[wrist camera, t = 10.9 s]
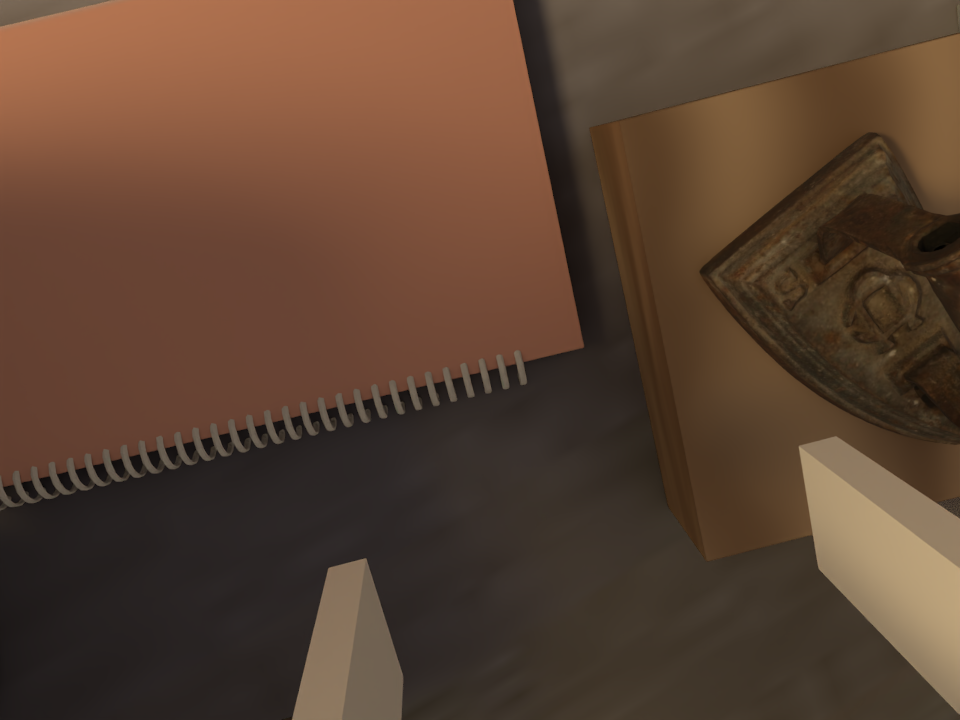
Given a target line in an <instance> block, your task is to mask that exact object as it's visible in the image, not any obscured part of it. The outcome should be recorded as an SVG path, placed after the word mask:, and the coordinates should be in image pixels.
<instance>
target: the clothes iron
mask: <svg viewBox="0 0 960 720" xmlns="http://www.w3.org/2000/svg"><path fill="white" fill-rule="evenodd" d="M699 273H700V275H701V276H702V278H703V280H704V281H705V283H706V284H707V285H708V287H709V288H710V290H711V291H712V292H713V294H714V295H715V296H716V297H717V299H718V300H719V301H720V302H721V303H722V305H723V306H724V307H725V309H726V310H727V311H728V312H729V313H730V314H731V316H732V317H733V318H734V319H735V320H736V321H737V322H738V323H739V325H740V326H741V327H742V328H743V329H744V330H745V331H746V332H747V333H748V334H749V335H750V336H751V337H752V338H753V339H754V340H755V342H756V343H757V344H758V345H759V346H760V347H761V348H762V349H763V350H764V351H765V352H766V353H767V354H768V355H770V356H771V357H772V358H773V359H774V360H775V361H776V362H777V363H778V364H779V365H780V366H781V367H782V368H783V369H785V370H786V371H787V372H788V373H789V374H790V375H792V376H793V377H794V378H795V379H797V380H798V381H799V382H801V383H802V384H803V385H805V386H806V387H807V388H809V389H810V390H811V391H813V392H814V393H816V394H817V395H818V396H820V397H822V398H823V399H825V400H826V401H828V402H829V403H831V404H833V405H835V406H836V407H838V408H840V409H841V410H843V411H845V412H847V413H849V414H851V415H853V416H855V417H857V418H860V419H862V420H863V421H865V422H868V423H870V424H872V425H875V426H877V427H880V428H883V429H885V430H888V431H891V432H894V433H896V434H899V435H903V436H906V437H910V438H914V439H918V440H923V441H929V442H935V443H943V444H953V445H958V444H960V213H958V214H953V215H941V214H936V213H931V212H928V211H926V210H924V209H923V207H922V205H921V203H920V201H919V199H918V197H917V196H916V194H915V192H914V190H913V188H912V186H911V184H910V182H909V181H908V179H907V177H906V175H905V173H904V171H903V170H902V168H901V166H900V164H899V163H898V161H897V159H896V157H895V156H894V154H893V152H892V151H891V150H890V148H889V147H888V145H887V144H886V142H885V141H884V139H883V138H882V137H881V136H880V135H878V134H877V133H873V132H868V133H867V134H865V135H863V136H861V137H860V138H859V139H857V140H856V141H855V142H853V143H852V144H851V145H850V146H848V147H847V148H846V149H844V150H843V151H842V152H841V153H839V154H838V155H837V156H836V157H834V158H833V159H832V160H831V161H829V162H828V163H827V164H826V165H825V166H823V167H822V168H821V169H820V170H818V171H817V172H816V173H815V174H813V175H812V176H811V177H810V178H809V179H807V180H806V181H805V182H804V183H802V184H801V185H800V186H799V187H797V188H796V189H795V190H794V191H793V192H791V193H790V194H789V195H788V196H786V197H785V198H784V199H783V200H781V201H780V202H779V203H778V204H776V205H775V206H774V207H773V208H772V209H770V210H769V211H768V212H767V213H766V214H764V215H763V216H762V217H761V218H759V219H758V220H757V221H756V222H755V223H753V224H752V225H751V226H750V227H749V228H747V229H746V230H745V231H744V232H743V233H741V234H740V235H739V236H738V237H737V238H735V239H734V240H733V241H732V242H731V243H729V244H728V245H727V246H726V247H725V248H723V249H722V250H721V251H720V252H719V253H718V254H716V255H715V256H714V257H713V258H712V259H711V260H710V261H709V262H708V263H706V264H705V265H704V266H703V267H702V268H701V270H700V271H699Z"/></svg>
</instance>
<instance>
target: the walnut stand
mask: <svg viewBox="0 0 960 720" xmlns="http://www.w3.org/2000/svg"><path fill="white" fill-rule="evenodd" d="M868 132H873V133H877V134H878V135H880V136H881V137H882V138H883V139H884V141H885V142H886V144H887V145H888V147H889V148H890V150H891V151H892V152H893V154H894V156H895V157H896V159H897V161H898V163H899V164H900V166H901V168H902V170H903V171H904V173H905V175H906V177H907V179H908V181H909V182H910V184H911V186H912V188H913V190H914V192H915V194H916V196H917V197H918V199H919V201H920V203H921V205H922V207H923V209H924V210H926V211H928V212H931V213H936V214H941V215H953V214H958V213H960V33H956V34H952V35H948V36H944V37H940V38H937V39H933V40H929V41H925V42H921V43H917V44H913V45H909V46H905V47H902V48H898V49H894V50H890V51H886V52H882V53H878V54H874V55H870V56H867V57H863V58H859V59H855V60H851V61H847V62H843V63H839V64H835V65H832V66H828V67H824V68H820V69H816V70H812V71H808V72H804V73H800V74H796V75H793V76H789V77H785V78H781V79H777V80H773V81H769V82H765V83H761V84H758V85H754V86H750V87H746V88H742V89H738V90H734V91H730V92H726V93H723V94H719V95H715V96H711V97H707V98H703V99H699V100H695V101H691V102H688V103H684V104H680V105H676V106H672V107H668V108H664V109H660V110H656V111H653V112H649V113H645V114H641V115H637V116H633V117H629V118H625V119H621V120H618V121H614V122H610V123H606V124H602V125H598V126H594V127H590V133H591V138H592V143H593V147H594V152H595V157H596V162H597V167H598V171H599V176H600V181H601V186H602V191H603V196H604V200H605V205H606V210H607V215H608V220H609V224H610V229H611V234H612V239H613V244H614V249H615V253H616V258H617V263H618V268H619V273H620V278H621V282H622V287H623V292H624V297H625V302H626V306H627V311H628V316H629V321H630V326H631V331H632V335H633V340H634V345H635V350H636V355H637V360H638V364H639V369H640V374H641V379H642V384H643V388H644V393H645V398H646V403H647V408H648V413H649V417H650V422H651V427H652V432H653V437H654V441H655V446H656V451H657V456H658V461H659V466H660V470H661V475H662V480H663V485H664V490H665V495H666V499H667V504H668V507H669V509H670V510H671V511H672V513H673V514H674V516H675V517H676V519H677V520H678V521H679V523H680V524H681V526H682V527H683V529H684V530H685V531H686V533H687V534H688V536H689V537H690V539H691V540H692V541H693V543H694V544H695V546H696V547H697V549H698V550H699V551H700V553H701V554H702V556H703V557H704V559H705V560H706V561H707V562H708V561H712V560H716V559H720V558H724V557H728V556H732V555H735V554H739V553H743V552H747V551H751V550H755V549H759V548H763V547H766V546H770V545H774V544H778V543H782V542H786V541H790V540H794V539H797V538H801V537H805V536H809V535H813V532H812V526H811V520H810V513H809V507H808V501H807V495H806V489H805V483H804V476H803V470H802V464H801V458H800V452H799V446H800V445H804V444H808V443H812V442H816V441H820V440H823V439H827V438H831V437H835V436H837V437H838V438H840V439H841V440H843V441H844V442H846V443H847V444H849V445H850V446H852V447H853V448H855V449H856V450H858V451H859V452H861V453H862V454H864V455H865V456H867V457H868V458H870V459H871V460H873V461H874V462H876V463H877V464H879V465H880V466H882V467H883V468H885V469H886V470H888V471H889V472H891V473H892V474H894V475H895V476H897V477H898V478H900V479H901V480H903V481H904V482H906V483H907V484H909V485H910V486H912V487H913V488H915V489H916V490H917V491H919V492H920V493H922V494H923V495H925V496H926V497H928V498H929V499H931V500H932V501H934V502H935V503H937V502H941V501H945V500H948V499H952V498H956V497H960V444H958V445H953V444H943V443H935V442H929V441H923V440H918V439H914V438H910V437H906V436H903V435H899V434H896V433H894V432H891V431H888V430H885V429H883V428H880V427H877V426H875V425H872V424H870V423H868V422H865V421H863V420H862V419H860V418H857V417H855V416H853V415H851V414H849V413H847V412H845V411H843V410H841V409H840V408H838V407H836V406H835V405H833V404H831V403H829V402H828V401H826V400H825V399H823V398H822V397H820V396H818V395H817V394H816V393H814V392H813V391H811V390H810V389H809V388H807V387H806V386H805V385H803V384H802V383H801V382H799V381H798V380H797V379H795V378H794V377H793V376H792V375H790V374H789V373H788V372H787V371H786V370H785V369H783V368H782V367H781V366H780V365H779V364H778V363H777V362H776V361H775V360H774V359H773V358H772V357H771V356H770V355H768V354H767V353H766V352H765V351H764V350H763V349H762V348H761V347H760V346H759V345H758V344H757V343H756V342H755V340H754V339H753V338H752V337H751V336H750V335H749V334H748V333H747V332H746V331H745V330H744V329H743V328H742V327H741V326H740V325H739V323H738V322H737V321H736V320H735V319H734V318H733V317H732V316H731V314H730V313H729V312H728V311H727V310H726V309H725V307H724V306H723V305H722V303H721V302H720V301H719V300H718V299H717V297H716V296H715V295H714V294H713V292H712V291H711V290H710V288H709V287H708V285H707V284H706V283H705V281H704V280H703V278H702V276H701V275H700V273H699V271H700V270H701V268H702V267H703V266H704V265H705V264H706V263H708V262H709V261H710V260H711V259H712V258H713V257H714V256H715V255H716V254H718V253H719V252H720V251H721V250H722V249H723V248H725V247H726V246H727V245H728V244H729V243H731V242H732V241H733V240H734V239H735V238H737V237H738V236H739V235H740V234H741V233H743V232H744V231H745V230H746V229H747V228H749V227H750V226H751V225H752V224H753V223H755V222H756V221H757V220H758V219H759V218H761V217H762V216H763V215H764V214H766V213H767V212H768V211H769V210H770V209H772V208H773V207H774V206H775V205H776V204H778V203H779V202H780V201H781V200H783V199H784V198H785V197H786V196H788V195H789V194H790V193H791V192H793V191H794V190H795V189H796V188H797V187H799V186H800V185H801V184H802V183H804V182H805V181H806V180H807V179H809V178H810V177H811V176H812V175H813V174H815V173H816V172H817V171H818V170H820V169H821V168H822V167H823V166H825V165H826V164H827V163H828V162H829V161H831V160H832V159H833V158H834V157H836V156H837V155H838V154H839V153H841V152H842V151H843V150H844V149H846V148H847V147H848V146H850V145H851V144H852V143H853V142H855V141H856V140H857V139H859V138H860V137H861V136H863V135H865V134H867V133H868Z"/></svg>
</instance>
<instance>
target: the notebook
mask: <svg viewBox="0 0 960 720" xmlns="http://www.w3.org/2000/svg"><path fill="white" fill-rule="evenodd" d="M580 348H584V343H583V339H582V334H581V329H580V324H579V319H578V314H577V309H576V305H575V300H574V295H573V290H572V285H571V280H570V275H569V271H568V266H567V261H566V256H565V251H564V246H563V241H562V236H561V232H560V227H559V222H558V217H557V212H556V207H555V202H554V198H553V193H552V188H551V183H550V178H549V173H548V168H547V163H546V159H545V154H544V149H543V144H542V139H541V134H540V129H539V125H538V120H537V115H536V110H535V105H534V100H533V95H532V91H531V86H530V81H529V76H528V71H527V66H526V61H525V56H524V52H523V47H522V42H521V37H520V32H519V27H518V22H517V18H516V13H515V8H514V3H513V0H112V1H108V2H103V3H99V4H95V5H91V6H86V7H82V8H78V9H74V10H70V11H65V12H61V13H57V14H53V15H49V16H44V17H40V18H36V19H32V20H28V21H23V22H19V23H15V24H11V25H6V26H2V27H0V499H1V500H2V501H3V504H2V505H1V506H0V511H1V510H3V509H5V508H6V507H7V506H9V507H18V506H21V505H23V504H24V503H25V502H27V503H36V502H38V501H40V500H41V499H42V498H43V497H44V498H45V499H53V498H55V497H57V496H58V495H59V494H60V493H62V494H63V495H68V494H72V493H74V492H75V491H76V490H77V489H80V490H89V489H92V488H93V486H94V485H95V484H96V485H98V486H106V485H109V484H110V483H111V481H112V479H113V480H115V481H116V482H121V481H125V480H127V479H128V478H129V476H130V475H131V476H133V477H134V478H140V477H142V476H144V475H145V474H146V472H147V469H148V471H149V472H151V473H159V472H162V470H163V469H164V466H165V465H166V467H167V468H169V469H176V468H179V467H180V465H181V463H182V460H183V461H184V463H185V464H187V465H193V464H196V463H197V462H198V459H199V456H201V457H202V459H203V460H205V461H210V460H213V459H214V458H215V456H216V452H217V450H218V452H219V453H220V455H221V456H229V455H231V454H232V452H233V449H234V445H235V446H236V448H237V450H238V451H239V452H247V451H249V449H250V446H251V439H252V441H253V443H254V444H255V446H256V447H257V448H264V447H266V445H267V443H268V435H267V434H264V435H262V441H260V440H259V438H258V436H257V433H256V430H255V426H260V425H264V424H266V427H267V431H268V433H269V435H270V437H271V439H272V440H273V442H274V443H275V444H280V443H283V442H284V440H285V431H284V430H281V431H279V437H278V436H277V434H276V432H275V429H274V426H273V423H272V422H276V421H280V420H284V423H285V427H286V429H287V431H288V433H289V435H290V437H291V438H292V439H294V440H297V439H300V438H301V436H302V426H301V425H300V426H297V427H296V432H295V430H294V428H293V425H292V422H291V419H290V418H293V417H297V416H301V415H302V419H303V423H304V425H305V427H306V429H307V431H308V433H309V434H310V435H313V436H314V435H317V434H318V433H319V426H320V425H319V422H318V421H316V422H314V423H313V426H312V424H311V421H310V418H309V415H308V414H309V413H314V412H318V411H320V415H321V419H322V421H323V423H324V425H325V427H326V429H327V430H328V431H333V430H335V429H336V426H337V420H336V418H335V417H333V418H331V419H330V420H329V417H328V414H327V411H326V409H330V408H334V407H338V411H339V415H340V417H341V419H342V422H343V424H344V425H345V426H346V427H351V426H353V424H354V416H353V414H352V413H350V414H348V415H347V413H346V410H345V407H344V405H347V404H351V403H356V407H357V411H358V413H359V416H360V418H361V420H362V421H363V422H364V423H368V422H370V420H371V411H370V410H369V409H366V410H365V409H364V406H363V403H362V401H363V400H368V399H372V398H373V399H374V402H375V406H376V409H377V411H378V414H379V417H380V418H387V417H388V407H387V406H386V405H384V406H382V403H381V399H380V396H384V395H388V394H391V395H392V399H393V402H394V406H395V409H396V411H397V413H398V414H404V413H405V403H404V402H400V399H399V395H398V392H401V391H405V390H409V391H410V395H411V399H412V402H413V405H414V407H415V409H416V410H421V409H422V408H423V407H422V399H421V397H420V398H418V395H417V391H416V388H418V387H422V386H426V385H427V387H428V392H429V395H430V399H431V402H432V404H433V406H438V405H439V404H440V399H439V394H438V393H436V391H435V387H434V383H438V382H443V381H445V383H446V387H447V391H448V395H449V398H450V401H451V402H455V401H457V395H456V390H455V389H454V387H453V383H452V379H455V378H459V377H463V380H464V384H465V388H466V392H467V396H468V397H469V398H471V397H474V396H475V395H474V390H473V386H472V384H471V379H470V375H472V374H476V373H480V372H481V376H482V380H483V385H484V389H485V393H491V392H492V389H491V385H490V380H489V375H488V370H492V369H497V368H499V372H500V377H501V379H500V380H501V384H502V388H503V389H508V388H509V381H508V377H507V372H506V367H505V366H509V365H513V364H517V369H518V375H517V376H518V380H519V383H520V385H525V384H526V383H527V378H526V373H525V368H524V364H523V362H526V361H530V360H534V359H538V358H542V357H547V356H551V355H555V354H559V353H563V352H567V351H571V350H576V349H580ZM247 428H248V431H249V434H250V438H251V439H250V438H247V439H245V445H244V447H243V445H242V444H241V442H240V440H239V437H238V434H237V431H239V430H243V429H247ZM226 433H230V435H231V439H232V442H230V443H228V448H227V452H226V451H225V449H224V448H223V446H222V443H221V441H220V438H219V435H222V434H226ZM210 437H212V439H213V443H214V446H213V447H211V451H210V455H209V456H208V454H207V453H206V452H205V450H204V447H203V445H202V442H201V439H205V438H210ZM193 441H194V443H195V447H196V451H195V452H194V454H193V458H192V460H190V458H189V457H188V456H187V454H186V452H185V449H184V447H183V444H185V443H189V442H193ZM172 446H176V447H177V451H178V454H179V455H178V456H177V457H176V462H175V464H172V462H171V461H170V460H169V458H168V456H167V453H166V451H165V448H168V447H172ZM156 450H158V452H159V455H160V458H161V460H159V465H158V468H157V469H155V467H154V466H153V465H152V464H151V462H150V460H149V457H148V455H147V452H151V451H156ZM139 454H140V456H141V459H142V462H143V464H142V469H141V471H140V473H137V472H136V471H135V469H134V468H133V466H132V464H131V461H130V459H129V457H131V456H135V455H139ZM118 459H122V460H123V463H124V466H125V473H124V476H123V477H122V478H120V477H119V476H118V475H117V474H116V472H115V470H114V468H113V466H112V464H111V461H114V460H118ZM101 463H104V464H105V467H106V471H107V472H108V476H107V479H106V481H105V482H103V481H101V480H100V479H99V478H98V476H97V474H96V472H95V470H94V468H93V465H97V464H101ZM85 467H86V468H87V472H88V475H89V477H90V478H91V480H90V482H89V484H88V486H85V485H83V484H82V483H81V482H80V480H79V478H78V476H77V474H76V472H75V470H77V469H81V468H85ZM64 472H68V473H69V476H70V479H71V481H72V482H73V486H72V488H71V489H70V490H66V489H65V488H64V487H63V484H62V483H61V482H60V480H59V478H58V476H57V474H60V473H64ZM47 476H50V477H51V480H52V483H53V485H54V486H55V488H56V489H55V492H54V493H53V494H48V493H47V492H46V489H45V487H43V486H42V484H41V482H40V480H39V478H43V477H47ZM31 480H32V481H33V484H34V487H35V489H36V491H37V492H38V495H37V497H36V498H34V499H32V498H30V497H29V493H28V492H25V491H24V489H23V487H22V485H21V483H22V482H27V481H31ZM10 485H15V488H16V492H17V494H18V495H19V496H20V497H21V500H20V501H19V502H18V503H14V502H12V501H11V497H10V496H7V495H6V493H5V491H4V489H3V487H6V486H10Z"/></svg>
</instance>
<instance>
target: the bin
mask: <svg viewBox="0 0 960 720" xmlns="http://www.w3.org/2000/svg"><path fill="white" fill-rule="evenodd" d="M957 14H958V25H959V33H960V5H957Z"/></svg>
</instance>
